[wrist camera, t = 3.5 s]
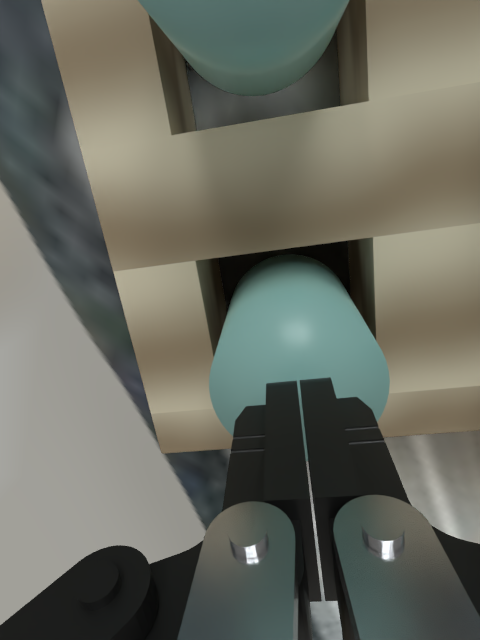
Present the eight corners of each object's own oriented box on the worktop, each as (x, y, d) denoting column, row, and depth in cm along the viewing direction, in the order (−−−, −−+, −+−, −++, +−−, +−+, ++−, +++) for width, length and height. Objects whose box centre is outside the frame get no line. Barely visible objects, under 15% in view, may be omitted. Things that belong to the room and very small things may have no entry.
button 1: (221, 262, 16) (194, 316, 10) (345, 246, 15) (387, 294, 10) (239, 370, 17) (224, 466, 12) (351, 359, 17) (391, 455, 11)
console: (79, -79, 15) (-22, -206, 10) (843, -268, 12) (1271, -591, 7) (185, 391, 22) (158, 460, 17) (681, 346, 19) (832, 412, 14)
